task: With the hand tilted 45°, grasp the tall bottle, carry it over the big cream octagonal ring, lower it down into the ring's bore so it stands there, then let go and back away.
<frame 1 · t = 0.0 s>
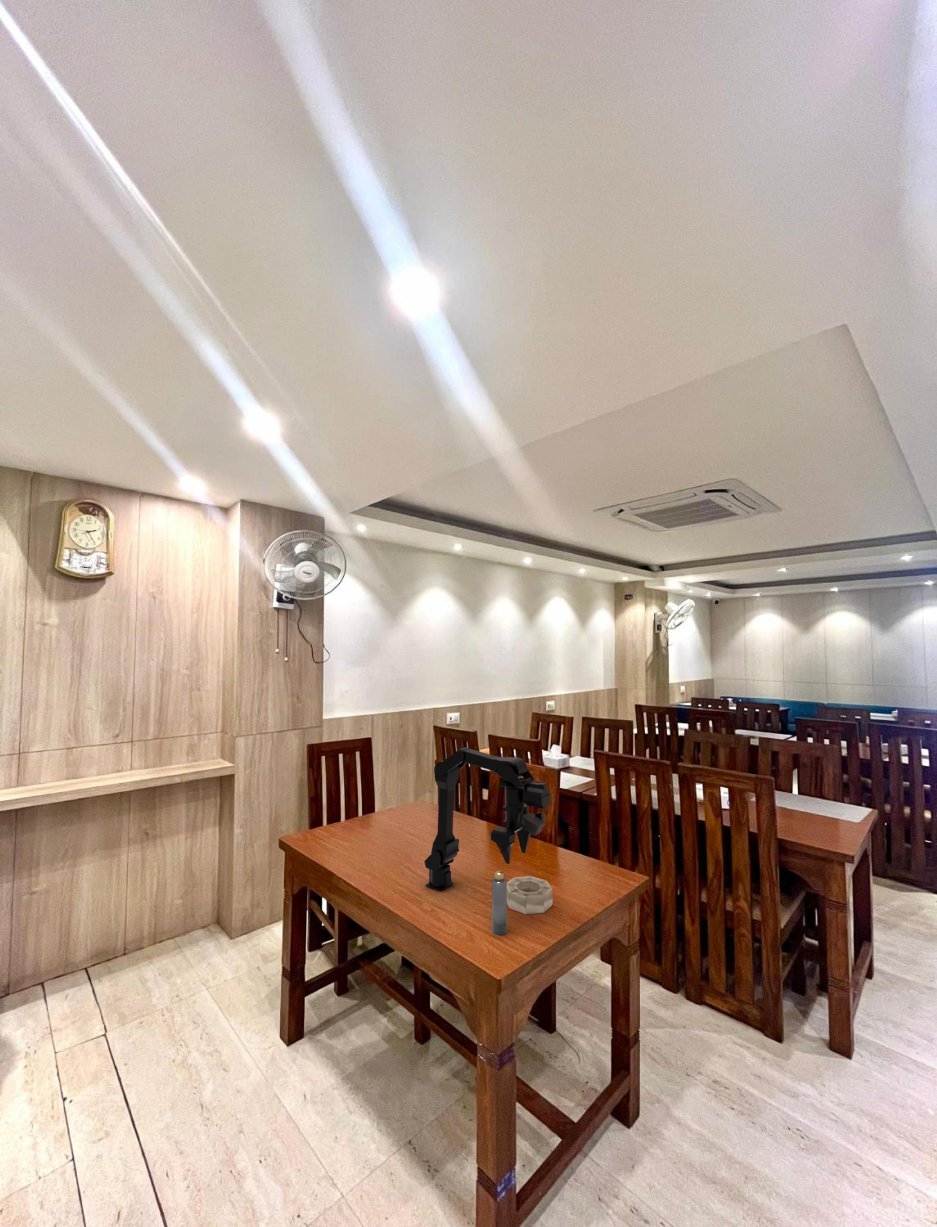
hand: (515, 858, 145), 14 cm above the table, tool pointing down, fingers open, 9 cm apart
bottle: (499, 930, 134), on the table
cream octagonal ring: (528, 902, 149), on the table
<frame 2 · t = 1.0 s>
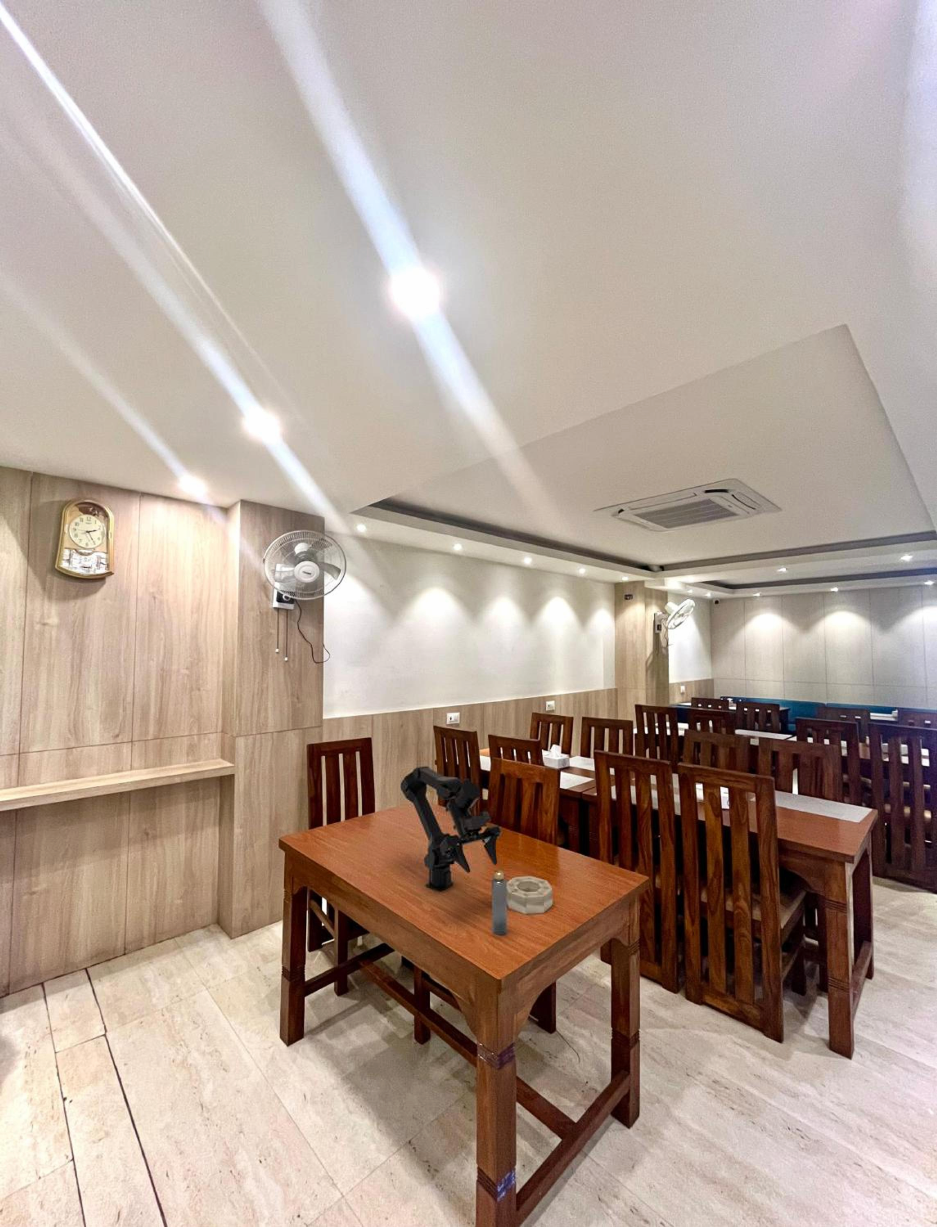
hand: (482, 868, 142), 13 cm above the table, tool tilted 45°, fingers open, 9 cm apart
nothing on the table moved.
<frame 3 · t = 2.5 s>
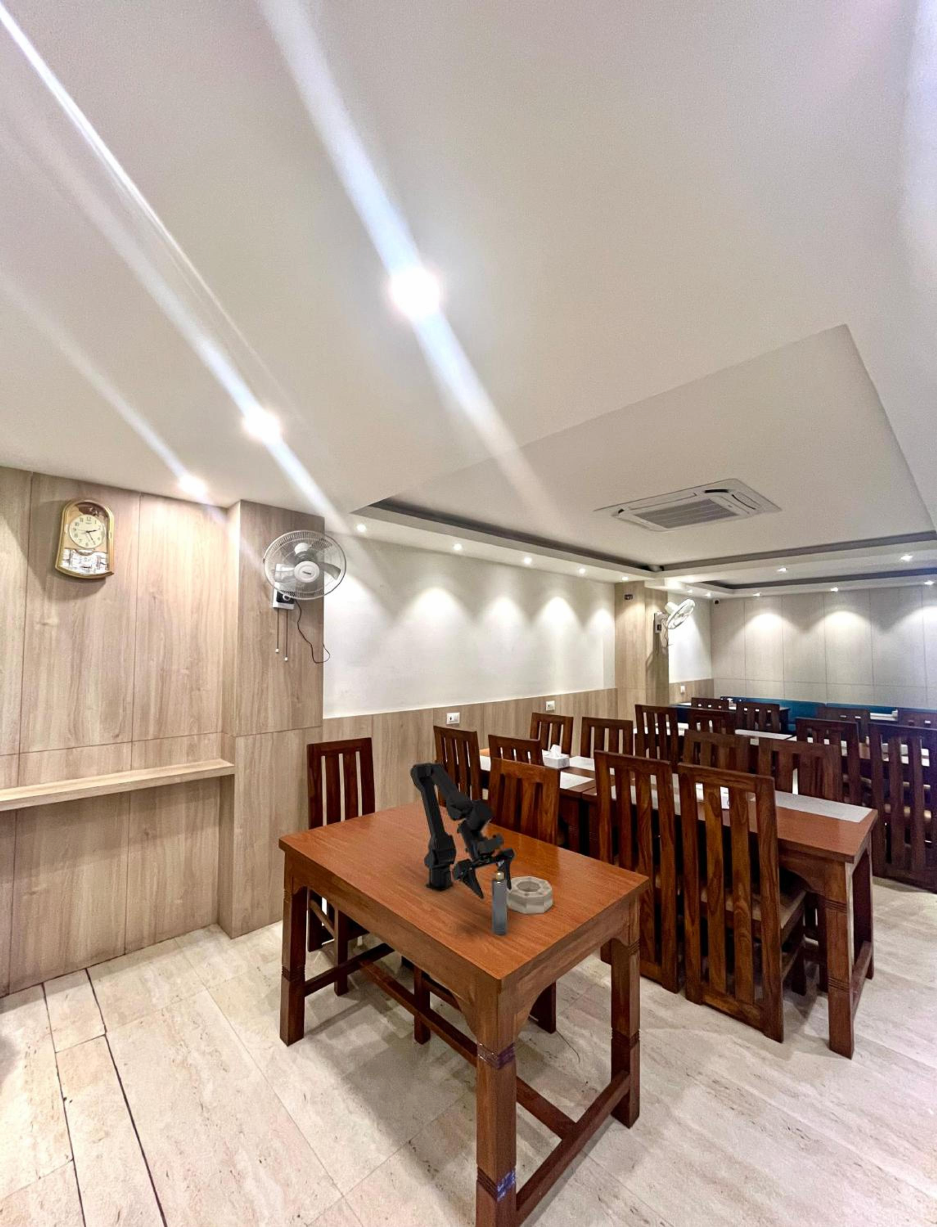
hand: (497, 894, 135), 9 cm above the table, tool tilted 45°, fingers open, 9 cm apart
nothing on the table moved.
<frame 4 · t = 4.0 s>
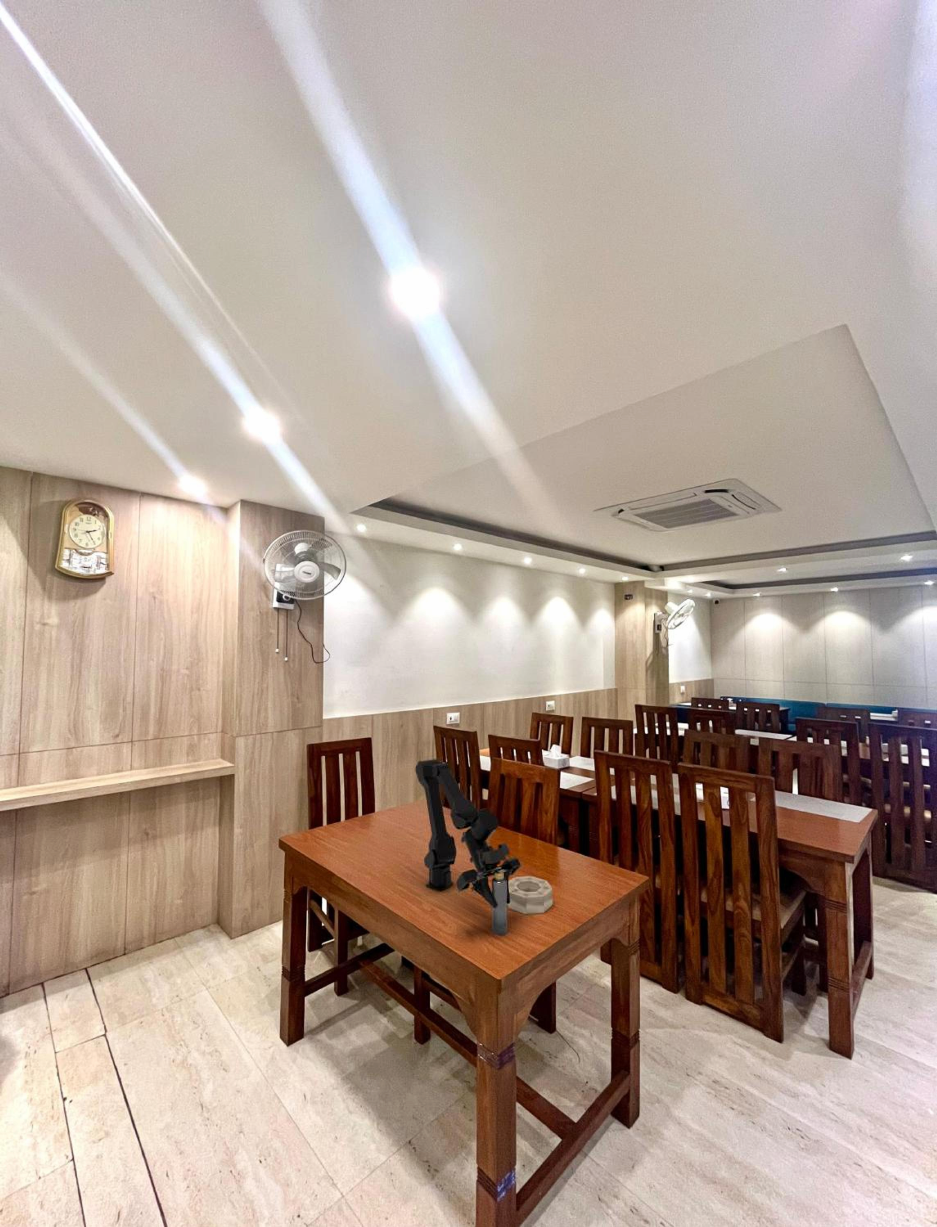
hand: (502, 905, 133), 7 cm above the table, tool tilted 45°, fingers closed on bottle, 4 cm apart
bottle: (499, 930, 134), on the table, touching gripper
everything else where it was.
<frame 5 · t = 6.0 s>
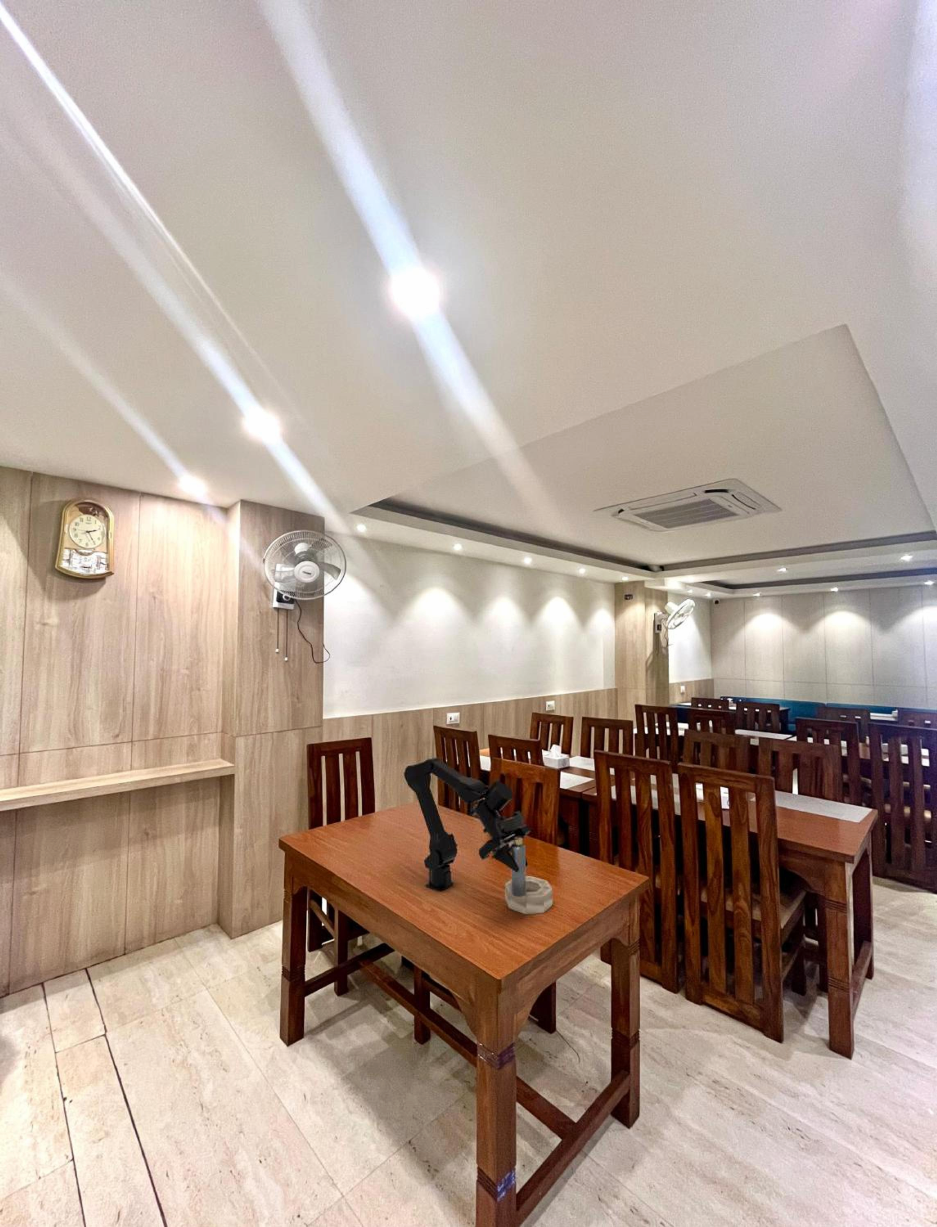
hand: (522, 868, 141), 13 cm above the table, tool tilted 45°, fingers closed on bottle, 4 cm apart
bottle: (518, 893, 141), point 6 cm above the table, touching gripper
everything else where it was.
when the fingers open (9 cm above the table, at t = 8.2 s): bottle drops 2 cm, resting in cream octagonal ring.
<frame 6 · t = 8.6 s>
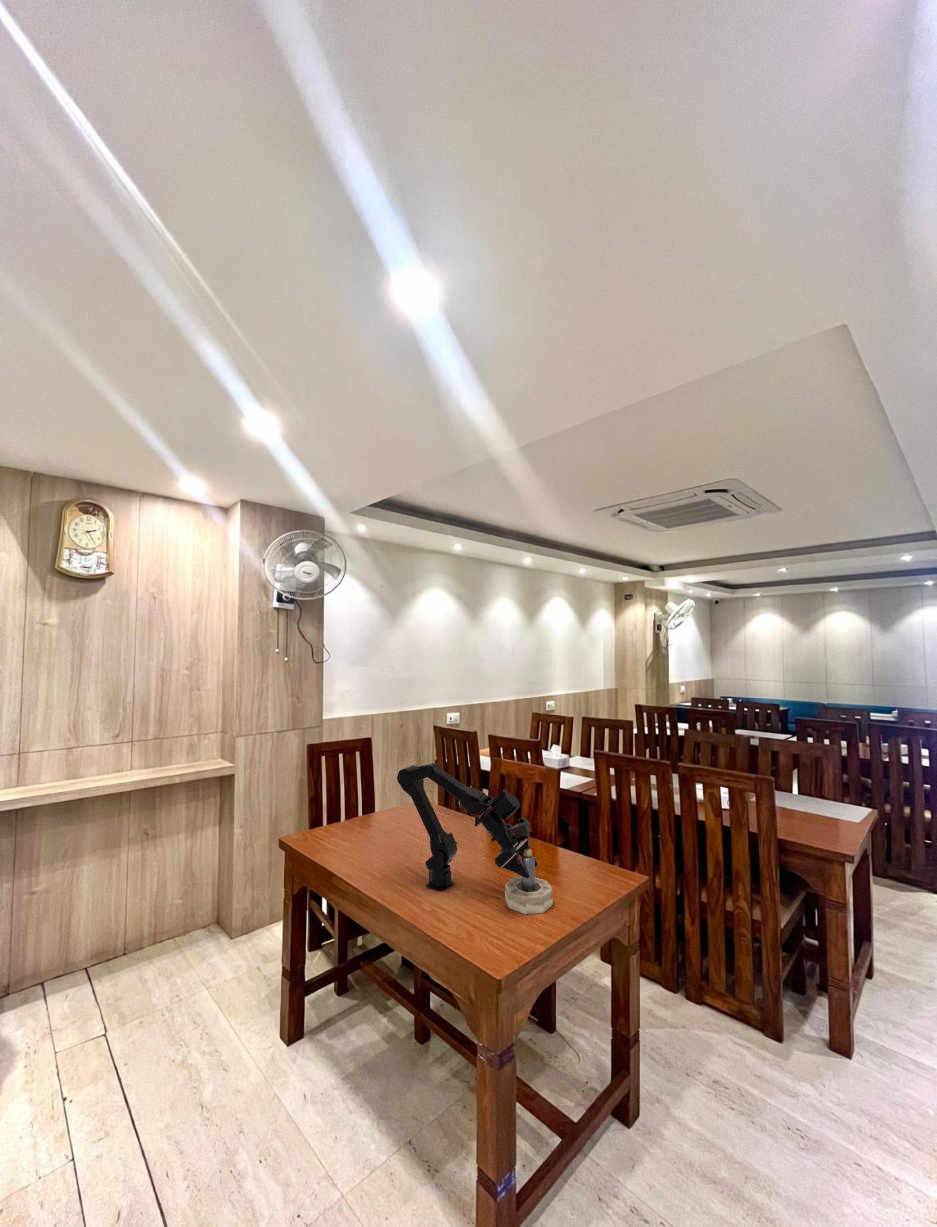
hand: (532, 871, 149), 9 cm above the table, tool tilted 45°, fingers open, 8 cm apart
bottle: (528, 902, 149), resting in cream octagonal ring
everything else where it was.
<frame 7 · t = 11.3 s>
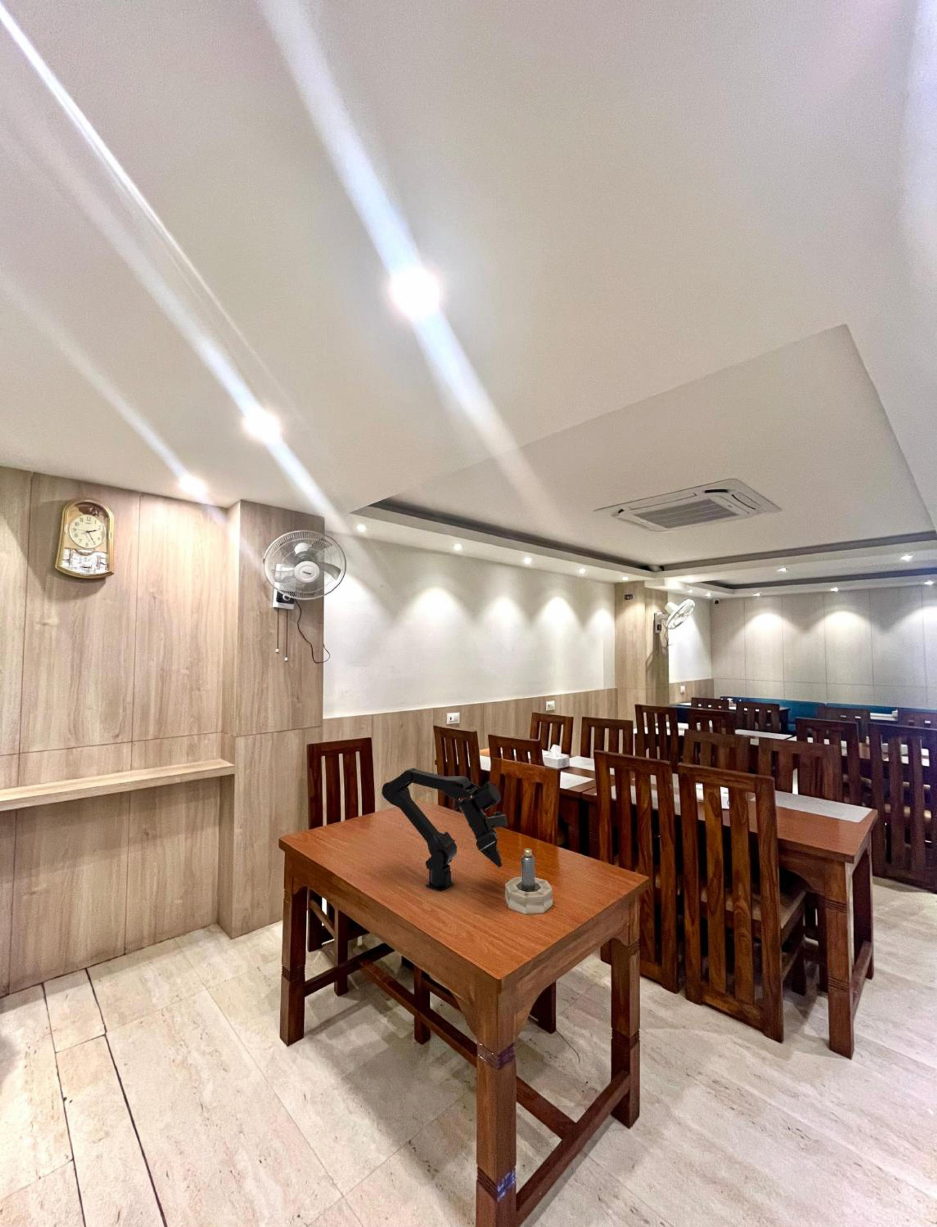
hand: (500, 863, 153), 10 cm above the table, tool tilted 30°, fingers open, 9 cm apart
nothing on the table moved.
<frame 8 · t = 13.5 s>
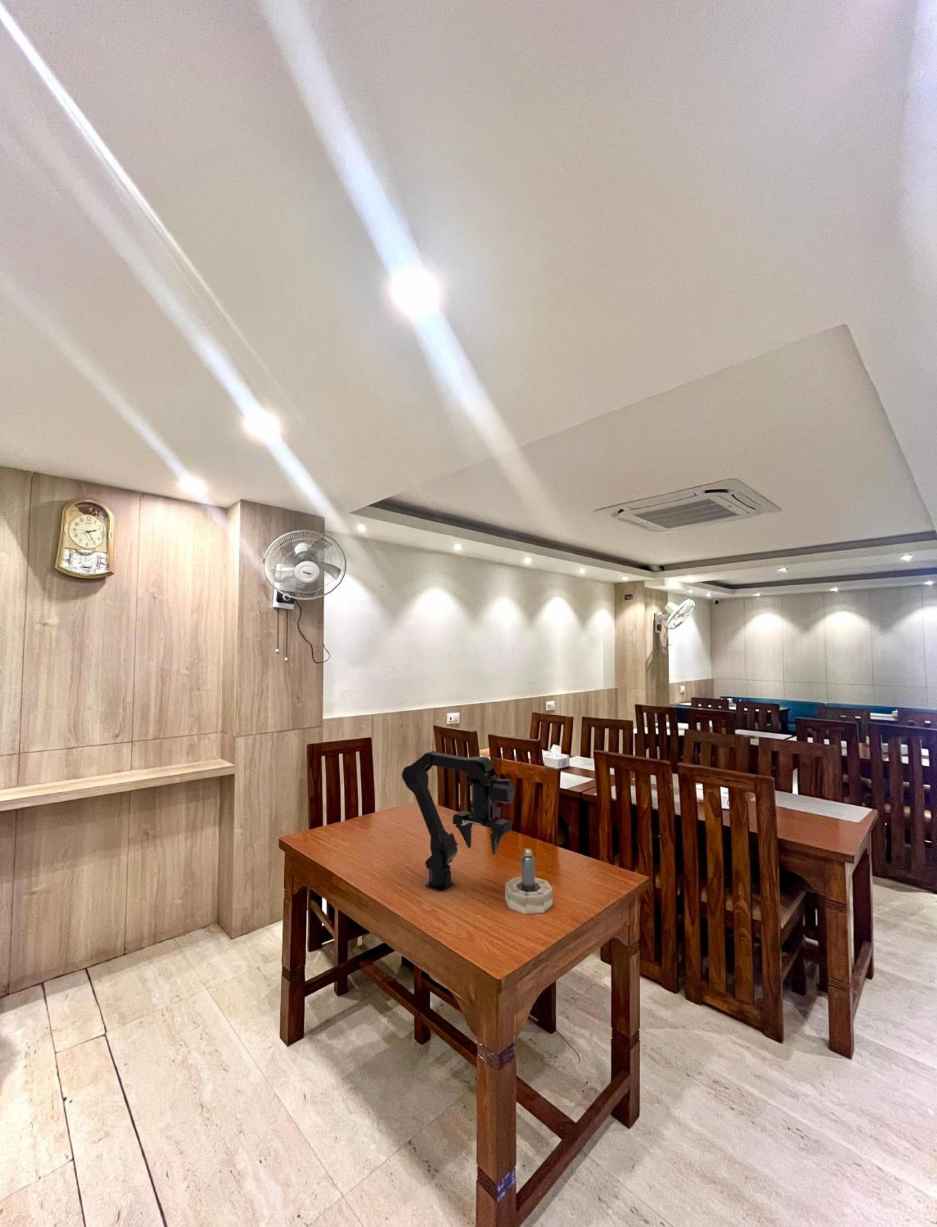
hand: (481, 850, 155), 13 cm above the table, tool pointing down, fingers open, 9 cm apart
nothing on the table moved.
at the end: bottle 0.0 cm off-centre on the cream octagonal ring, point 0.0 cm above the cream octagonal ring's base; bottle tilted 0°; the gripper is holding nothing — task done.
